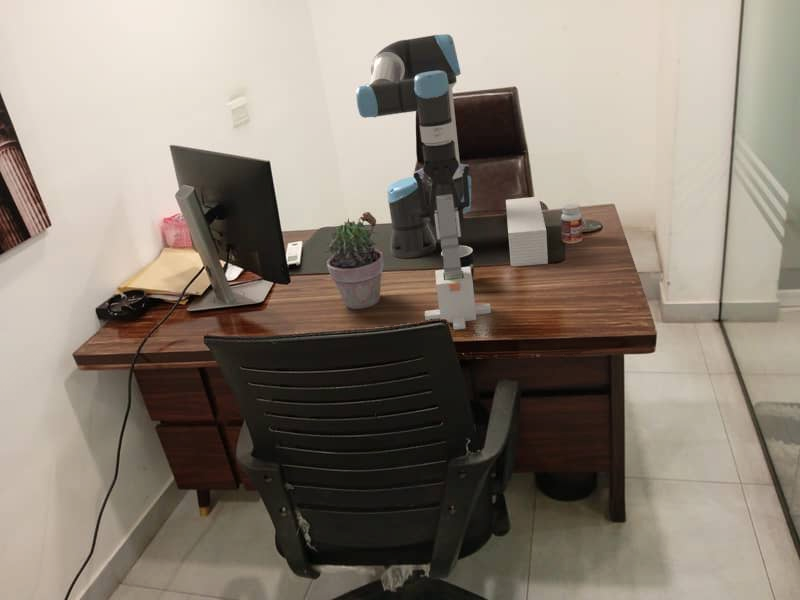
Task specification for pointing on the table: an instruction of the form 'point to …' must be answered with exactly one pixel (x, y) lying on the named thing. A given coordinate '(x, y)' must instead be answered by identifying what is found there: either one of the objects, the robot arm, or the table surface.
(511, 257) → the stack of papers
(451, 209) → the post
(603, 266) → the table surface
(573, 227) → the pill bottle
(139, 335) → the table surface
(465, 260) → the mug
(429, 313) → the housing
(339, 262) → the potted plant
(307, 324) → the table surface
